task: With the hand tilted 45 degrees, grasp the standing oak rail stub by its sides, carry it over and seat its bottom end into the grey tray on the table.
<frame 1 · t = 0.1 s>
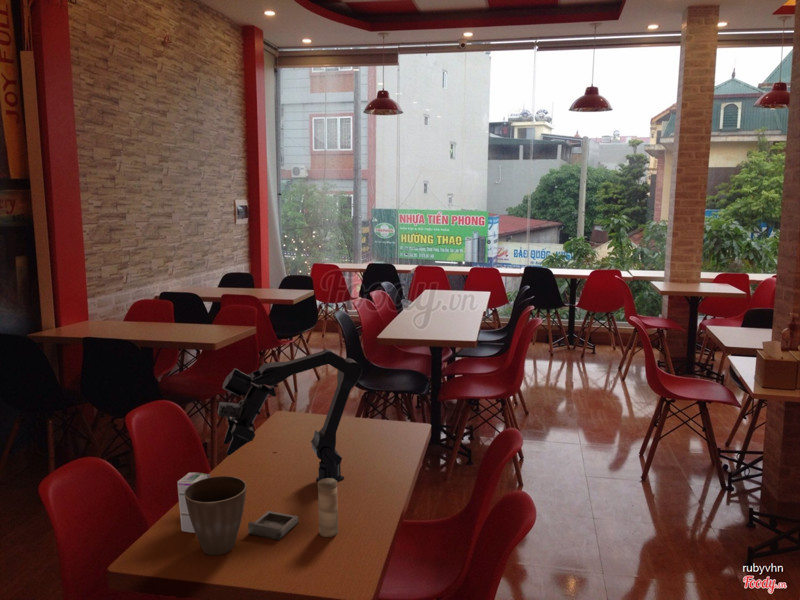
hand: (226, 449, 185), 15 cm above the table, tool tilted 35°, fingers open, 9 cm apart
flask: (209, 510, 179), on the table
syrup box: (196, 528, 169), on the table
grey tray: (273, 528, 168), on the table
plant pot: (219, 548, 159), on the table
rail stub: (328, 532, 166), on the table
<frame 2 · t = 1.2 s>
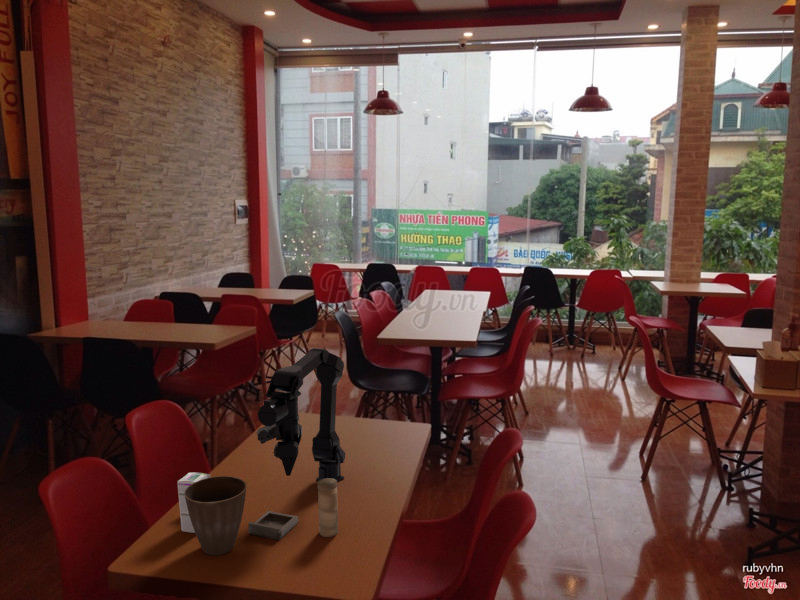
hand: (289, 468, 175), 13 cm above the table, tool pointing down, fingers open, 9 cm apart
nothing on the table moved.
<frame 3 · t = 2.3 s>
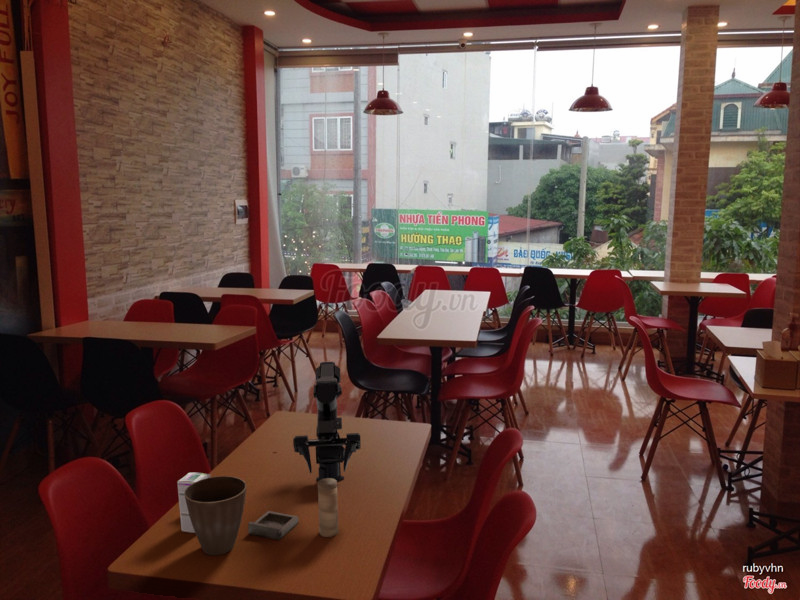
hand: (327, 471, 172), 13 cm above the table, tool tilted 45°, fingers open, 9 cm apart
nothing on the table moved.
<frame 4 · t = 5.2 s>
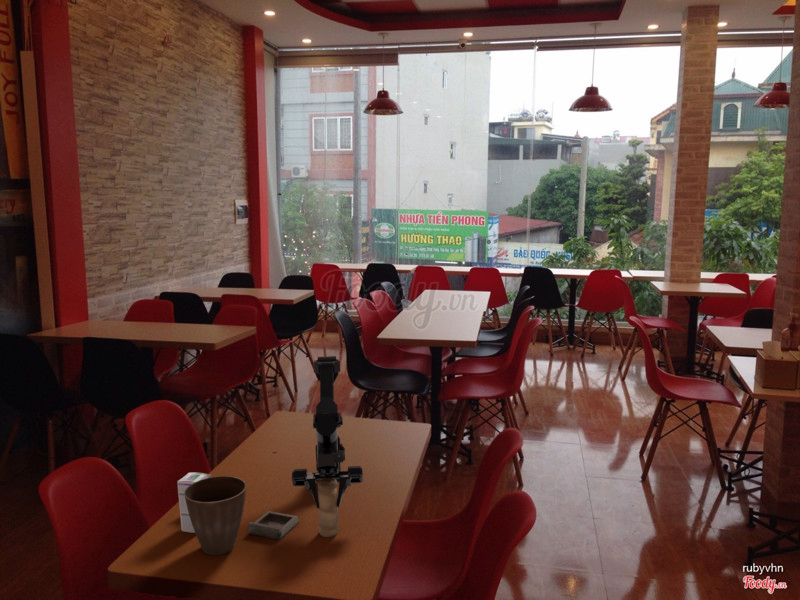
hand: (327, 507, 163), 8 cm above the table, tool tilted 45°, fingers closed on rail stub, 5 cm apart
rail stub: (328, 532, 166), on the table, touching gripper
everything else where it was.
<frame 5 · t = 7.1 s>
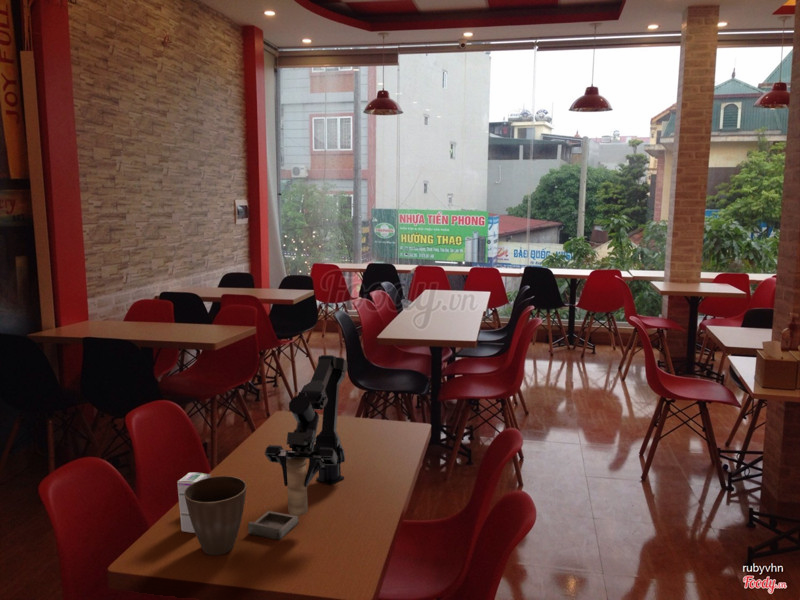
hand: (295, 486, 163), 13 cm above the table, tool tilted 45°, fingers closed on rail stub, 5 cm apart
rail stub: (298, 511, 165), point 6 cm above the table, touching gripper
everything else where it was.
when the fingers open (9 cm above the table, at t = 9.3 s): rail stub drops 1 cm, resting on grey tray.
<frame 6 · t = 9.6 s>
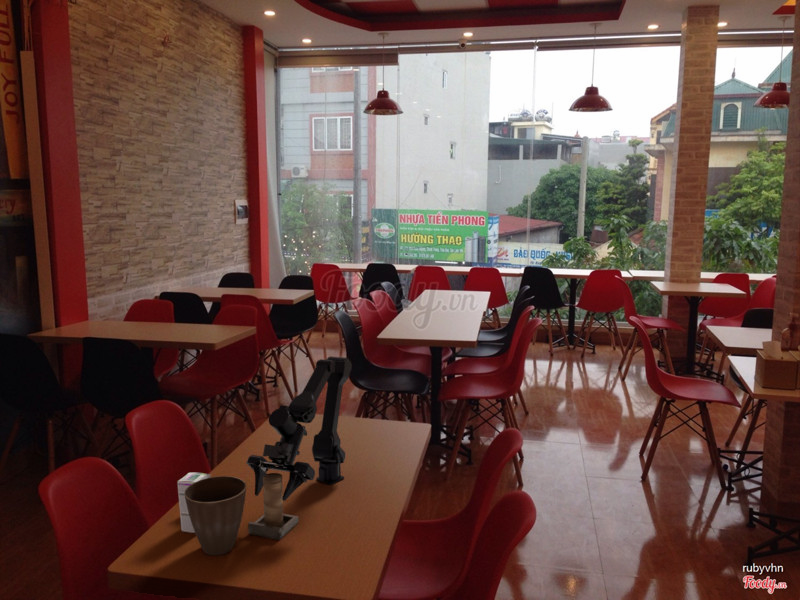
hand: (269, 497, 166), 9 cm above the table, tool tilted 45°, fingers open, 8 cm apart
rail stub: (274, 526, 168), point 1 cm above the table, touching grey tray
everything else where it was.
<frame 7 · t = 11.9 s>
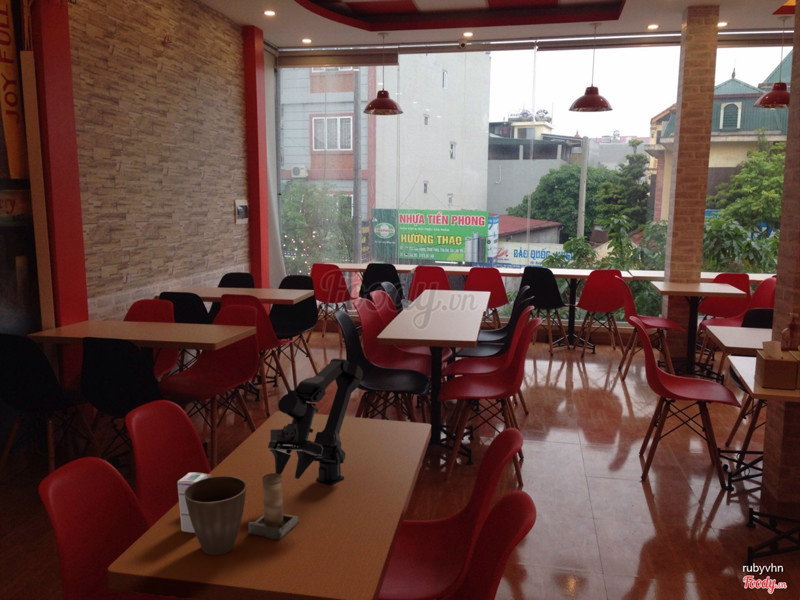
hand: (286, 477, 175), 11 cm above the table, tool tilted 35°, fingers open, 9 cm apart
nothing on the table moved.
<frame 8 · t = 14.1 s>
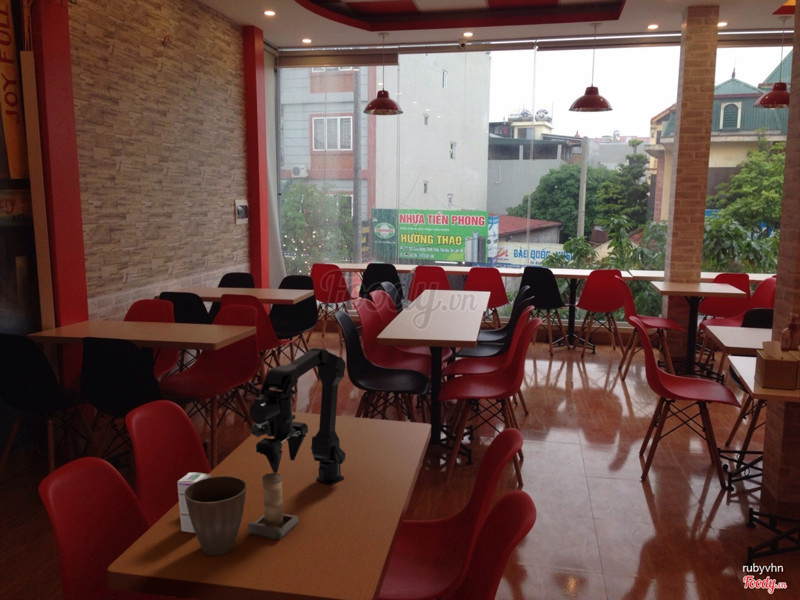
hand: (284, 466, 177), 13 cm above the table, tool pointing down, fingers open, 9 cm apart
nothing on the table moved.
at the end: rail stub 0.1 cm off-centre on the grey tray, point 0.5 cm above the grey tray's base; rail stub tilted 1°; the gripper is holding nothing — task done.
